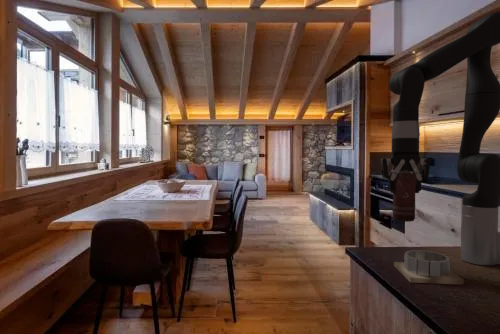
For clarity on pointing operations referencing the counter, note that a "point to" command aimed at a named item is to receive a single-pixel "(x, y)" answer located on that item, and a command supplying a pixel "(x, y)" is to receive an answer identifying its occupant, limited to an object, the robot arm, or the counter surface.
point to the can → (404, 197)
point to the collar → (427, 263)
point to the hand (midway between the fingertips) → (404, 192)
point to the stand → (423, 279)
